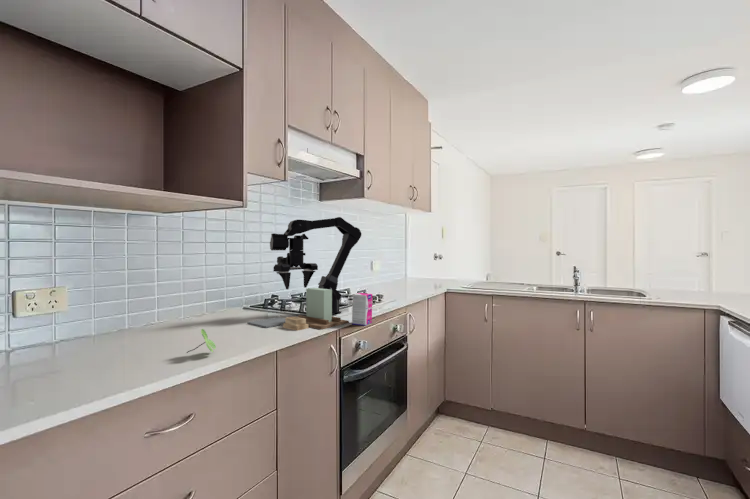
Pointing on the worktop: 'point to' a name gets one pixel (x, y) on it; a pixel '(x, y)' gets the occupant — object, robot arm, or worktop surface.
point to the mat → (268, 322)
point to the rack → (323, 322)
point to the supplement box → (362, 309)
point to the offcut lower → (295, 326)
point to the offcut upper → (295, 321)
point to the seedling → (206, 341)
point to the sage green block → (319, 303)
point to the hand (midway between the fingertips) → (296, 288)
